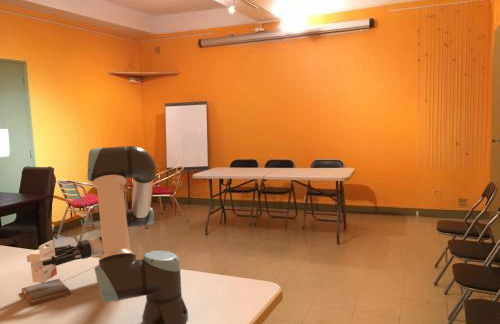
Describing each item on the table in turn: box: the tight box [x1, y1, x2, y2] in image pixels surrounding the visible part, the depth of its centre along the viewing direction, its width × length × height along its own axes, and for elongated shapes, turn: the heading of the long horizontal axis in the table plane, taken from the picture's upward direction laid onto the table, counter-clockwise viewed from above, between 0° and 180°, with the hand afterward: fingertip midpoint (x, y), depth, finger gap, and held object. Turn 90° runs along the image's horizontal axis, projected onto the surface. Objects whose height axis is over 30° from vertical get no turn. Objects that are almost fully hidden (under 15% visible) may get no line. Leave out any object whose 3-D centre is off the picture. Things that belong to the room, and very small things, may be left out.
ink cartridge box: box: [29, 239, 58, 284], centre depth 164 cm, size 9×5×15 cm, turn 168°
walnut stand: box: [21, 278, 71, 307], centre depth 165 cm, size 16×14×2 cm
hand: (29, 262), depth 161 cm, fingers closed on ink cartridge box, 9 cm apart
